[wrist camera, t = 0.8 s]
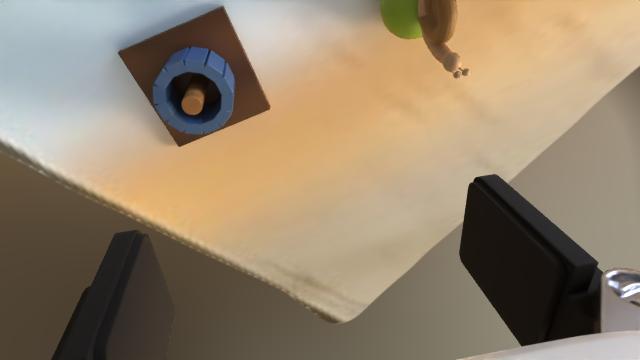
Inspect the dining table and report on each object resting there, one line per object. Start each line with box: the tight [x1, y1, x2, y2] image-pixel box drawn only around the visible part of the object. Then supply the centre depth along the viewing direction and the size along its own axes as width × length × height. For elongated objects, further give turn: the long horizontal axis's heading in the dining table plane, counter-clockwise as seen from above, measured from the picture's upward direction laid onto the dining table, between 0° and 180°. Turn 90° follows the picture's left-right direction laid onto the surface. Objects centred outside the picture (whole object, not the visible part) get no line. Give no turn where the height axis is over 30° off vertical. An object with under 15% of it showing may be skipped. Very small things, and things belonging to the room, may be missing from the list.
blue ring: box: [153, 47, 235, 135], centre depth 35 cm, size 6×6×4 cm
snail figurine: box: [380, 0, 470, 78], centre depth 31 cm, size 5×6×12 cm
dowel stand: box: [118, 6, 271, 147], centre depth 34 cm, size 10×10×7 cm
